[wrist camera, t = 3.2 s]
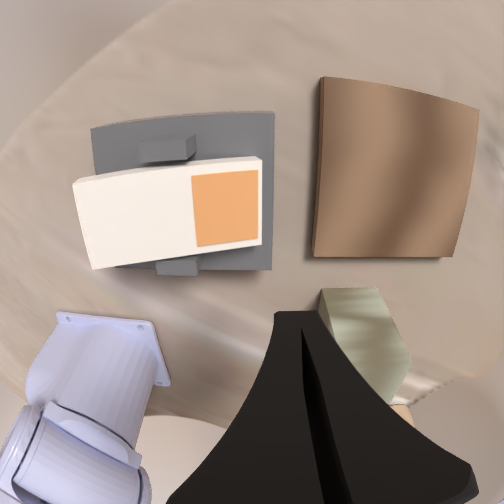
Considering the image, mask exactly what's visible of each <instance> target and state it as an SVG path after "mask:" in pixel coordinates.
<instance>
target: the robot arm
mask: <svg viewBox="0 0 504 504" xmlns="http://www.w3.org/2000/svg"><path fill="white" fill-rule="evenodd" d="M56 318H57V320H58V322H59V323H58V325H57V326H56V327H55V329H54V330H53V332H52V333H51V335H50V336H49V338H48V339H47V341H46V342H45V344H44V345H43V347H42V349H41V350H40V352H39V353H38V355H37V356H36V358H35V360H34V361H33V363H32V364H31V366H30V368H29V371H28V373H27V378H26V385H25V392H26V398H27V401H28V404H29V405H25V406H24V407H23V408H22V409H21V411H20V413H19V415H18V416H17V418H16V420H15V422H14V423H13V425H12V427H11V429H10V431H9V433H8V435H7V437H6V440H5V442H4V445H3V447H2V449H1V452H0V504H151V499H152V489H151V484H150V481H149V477H148V474H147V472H146V471H145V469H144V468H142V467H141V466H140V463H141V458H142V455H141V454H139V453H137V452H135V451H134V450H135V446H136V442H137V438H138V435H139V431H140V428H141V424H142V421H143V417H144V414H145V410H146V407H147V403H148V400H149V397H150V393H151V390H152V387H153V385H157V386H166V387H168V386H170V385H171V380H170V377H169V374H168V371H167V368H166V365H165V362H164V358H163V355H162V352H161V349H160V345H159V342H158V339H157V335H156V332H155V328H154V325H153V324H152V323H151V322H150V321H146V320H134V319H123V318H113V317H103V316H94V315H86V314H77V313H70V312H62V311H58V312H57V314H56ZM141 326H142V327H141ZM478 493H479V490H478V486H477V482H476V478H475V475H474V473H473V470H472V468H471V465H470V464H469V463H467V462H465V461H463V460H461V459H460V458H458V457H456V456H455V455H453V454H451V453H449V452H448V451H445V450H444V449H443V448H441V447H440V446H438V445H436V444H435V443H434V442H432V441H431V440H430V439H428V438H427V437H425V436H424V435H423V434H421V433H420V432H419V431H418V430H416V429H415V428H414V427H413V426H412V425H411V424H409V423H408V422H407V421H406V420H404V419H403V418H402V417H401V416H400V415H399V414H398V413H396V412H395V411H394V410H393V409H392V408H391V407H390V406H389V405H388V404H387V403H386V402H385V401H384V400H383V399H382V398H381V397H380V396H379V395H378V394H377V393H376V392H375V390H374V389H373V388H372V387H371V386H370V385H369V384H368V383H367V381H366V380H365V379H364V378H363V377H362V375H361V374H360V373H359V372H358V371H357V369H356V368H355V367H354V365H353V364H352V363H351V362H350V360H349V359H348V357H347V356H346V355H345V353H344V352H343V351H342V349H341V348H340V346H339V345H338V343H337V342H336V341H335V339H334V338H333V336H332V334H331V333H330V331H329V330H328V328H327V327H326V325H325V323H324V322H323V320H322V318H321V316H320V315H319V313H318V312H317V311H278V312H276V313H275V314H274V326H273V331H272V335H271V339H270V343H269V346H268V349H267V352H266V355H265V358H264V361H263V363H262V366H261V368H260V371H259V373H258V375H257V377H256V380H255V382H254V384H253V386H252V388H251V390H250V392H249V394H248V396H247V398H246V400H245V402H244V403H243V405H242V407H241V409H240V410H239V412H238V414H237V415H236V417H235V418H234V420H233V422H232V423H231V425H230V426H229V428H228V429H227V431H226V432H225V434H224V435H223V437H222V438H221V439H220V441H219V442H218V443H217V445H216V446H215V447H214V448H213V450H212V451H211V452H210V453H209V455H208V456H207V457H206V458H205V460H204V461H203V462H202V463H201V464H200V466H199V467H198V468H197V469H196V470H195V471H194V472H193V473H192V474H191V475H190V477H189V478H188V479H187V480H186V481H185V482H184V483H183V484H182V485H181V486H180V487H179V488H178V489H177V490H176V491H175V492H174V493H173V494H172V495H171V496H170V497H169V499H168V500H167V502H166V504H464V503H466V502H468V501H469V500H471V499H473V498H474V497H476V496H477V495H478ZM496 504H504V499H502V500H501V501H499V502H498V503H496Z"/></svg>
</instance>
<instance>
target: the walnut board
mask: <svg viewBox="0 0 504 504" xmlns="http://www.w3.org/2000/svg"><path fill="white" fill-rule="evenodd" d="M478 121H479V110H478V109H475V108H472V107H469V106H466V105H463V104H460V103H457V102H454V101H450V100H447V99H443V98H440V97H436V96H432V95H429V94H425V93H421V92H416V91H412V90H408V89H403V88H398V87H393V86H388V85H383V84H377V83H371V82H365V81H358V80H351V79H343V78H334V77H325V76H324V77H322V78H320V122H319V148H318V168H317V184H316V199H315V212H314V224H313V236H312V247H311V249H312V252H313V256H314V257H452V256H453V253H454V249H455V246H456V243H457V239H458V235H459V232H460V228H461V224H462V220H463V216H464V211H465V207H466V203H467V198H468V193H469V188H470V182H471V177H472V171H473V165H474V158H475V150H476V142H477V132H478Z"/></svg>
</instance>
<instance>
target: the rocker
mask: <svg viewBox="0 0 504 504" xmlns="http://www.w3.org/2000/svg"><path fill="white" fill-rule="evenodd" d="M72 186H73V191H74V197H75V202H76V207H77V211H78V216H79V220H80V225H81V229H82V233H83V237H84V241H85V245H86V249H87V253H88V256H89V260H90V263H91V267H92V270H93V269H100V268H107V267H113V266H120V265H126V264H133V263H140V262H146V261H153V260H160V259H167V258H173V257H180V256H187V255H194V254H200V253H207V252H214V251H221V250H228V249H235V248H242V247H249V246H256V245H262V160H261V159H259V158H258V157H256V156H249V157H234V158H221V159H209V160H199V161H189V162H180V163H172V164H164V165H156V166H149V167H142V168H136V169H129V170H123V171H117V172H111V173H105V174H100V175H95V176H89V177H84V178H79V179H77V180H76V181H75V182H74V183H73V184H72Z"/></svg>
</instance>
